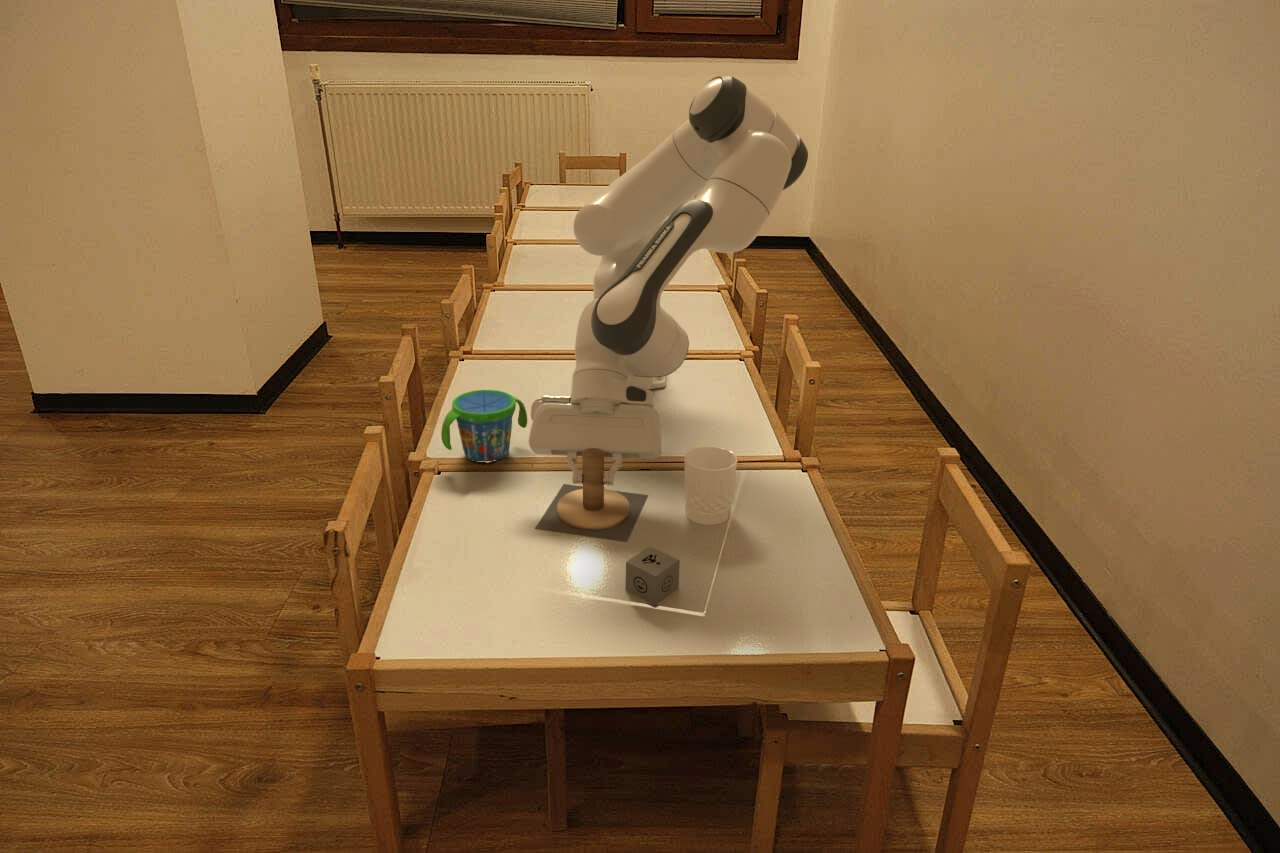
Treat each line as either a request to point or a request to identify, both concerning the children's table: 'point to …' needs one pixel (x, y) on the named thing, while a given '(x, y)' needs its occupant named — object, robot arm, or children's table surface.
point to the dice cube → (652, 575)
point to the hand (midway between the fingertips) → (592, 483)
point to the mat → (617, 533)
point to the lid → (593, 498)
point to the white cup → (709, 484)
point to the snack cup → (483, 423)
